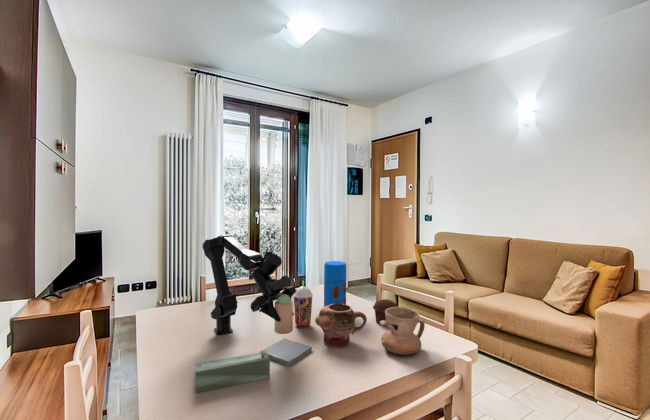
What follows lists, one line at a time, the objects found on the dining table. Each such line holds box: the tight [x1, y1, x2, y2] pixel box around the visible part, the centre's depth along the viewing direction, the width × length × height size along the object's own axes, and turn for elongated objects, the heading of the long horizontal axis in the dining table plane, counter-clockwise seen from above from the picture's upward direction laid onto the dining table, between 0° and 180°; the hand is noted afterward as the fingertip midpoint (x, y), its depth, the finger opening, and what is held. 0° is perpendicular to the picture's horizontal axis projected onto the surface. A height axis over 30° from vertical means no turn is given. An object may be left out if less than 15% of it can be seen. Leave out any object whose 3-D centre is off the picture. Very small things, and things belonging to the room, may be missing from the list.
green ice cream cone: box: [273, 294, 294, 335], centre depth 112 cm, size 6×6×13 cm
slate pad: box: [259, 337, 313, 367], centre depth 113 cm, size 13×13×2 cm
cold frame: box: [195, 349, 271, 394], centre depth 99 cm, size 13×21×6 cm, turn 112°
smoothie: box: [293, 280, 313, 329], centre depth 139 cm, size 8×8×20 cm
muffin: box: [372, 298, 399, 327], centre depth 143 cm, size 12×11×10 cm
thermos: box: [323, 260, 347, 307], centre depth 153 cm, size 11×11×25 cm
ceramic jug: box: [379, 306, 425, 356], centre depth 116 cm, size 18×14×14 cm
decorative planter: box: [314, 303, 368, 348], centre depth 122 cm, size 20×12×14 cm, turn 97°
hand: (286, 318), depth 111 cm, fingers closed on green ice cream cone, 6 cm apart
